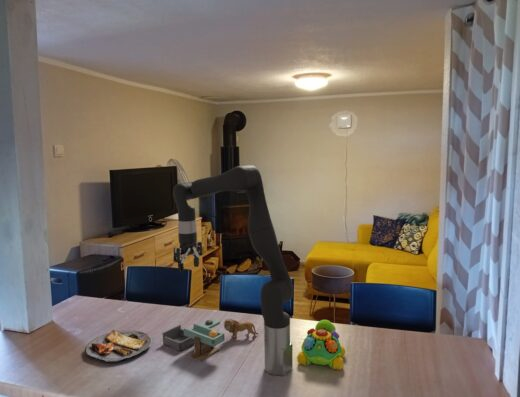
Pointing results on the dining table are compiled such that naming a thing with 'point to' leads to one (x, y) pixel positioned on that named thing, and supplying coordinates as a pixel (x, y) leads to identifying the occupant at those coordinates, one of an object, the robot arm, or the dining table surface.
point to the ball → (213, 334)
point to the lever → (205, 332)
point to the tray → (177, 339)
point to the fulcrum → (202, 350)
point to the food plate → (118, 345)
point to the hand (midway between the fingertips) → (188, 269)
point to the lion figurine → (239, 327)
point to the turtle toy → (322, 346)
